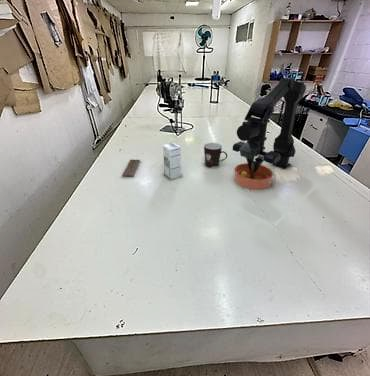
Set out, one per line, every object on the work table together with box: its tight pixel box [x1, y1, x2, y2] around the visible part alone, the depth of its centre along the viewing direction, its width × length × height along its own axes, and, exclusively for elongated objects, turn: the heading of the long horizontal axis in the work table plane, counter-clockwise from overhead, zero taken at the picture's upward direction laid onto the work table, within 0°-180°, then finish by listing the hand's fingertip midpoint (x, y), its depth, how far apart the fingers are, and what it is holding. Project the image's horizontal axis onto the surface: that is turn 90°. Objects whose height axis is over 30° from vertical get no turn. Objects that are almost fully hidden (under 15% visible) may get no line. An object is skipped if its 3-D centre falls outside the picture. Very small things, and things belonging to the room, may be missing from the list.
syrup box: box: [162, 142, 182, 180], centre depth 103 cm, size 6×6×14 cm
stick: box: [249, 160, 256, 179], centre depth 98 cm, size 2×2×9 cm
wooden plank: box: [122, 158, 141, 177], centre depth 111 cm, size 17×1×5 cm
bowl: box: [233, 162, 274, 191], centre depth 100 cm, size 16×16×5 cm
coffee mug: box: [203, 142, 228, 169], centre depth 113 cm, size 12×9×10 cm
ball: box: [241, 171, 248, 177], centre depth 103 cm, size 3×3×3 cm
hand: (252, 170), depth 98 cm, fingers closed on stick, 2 cm apart
